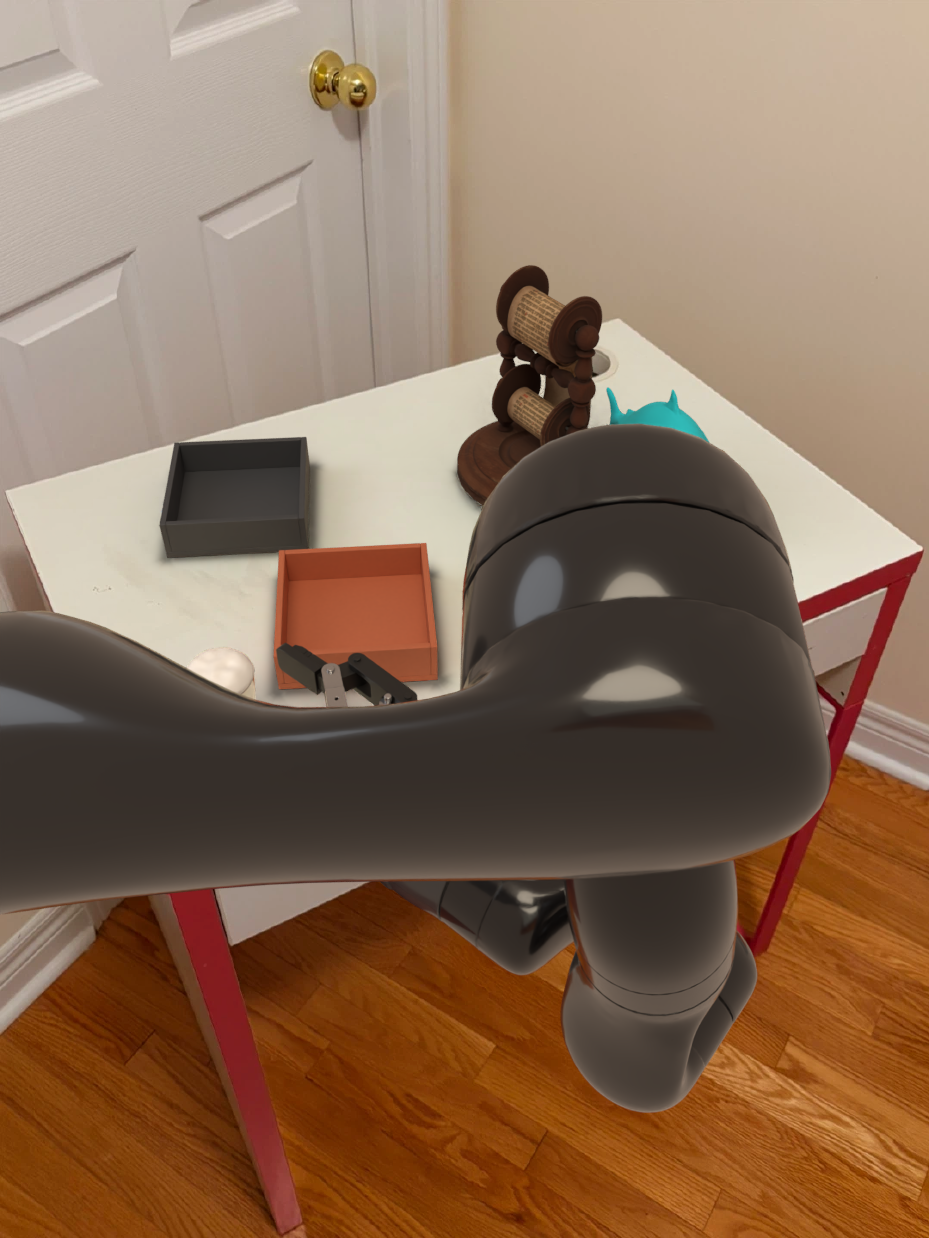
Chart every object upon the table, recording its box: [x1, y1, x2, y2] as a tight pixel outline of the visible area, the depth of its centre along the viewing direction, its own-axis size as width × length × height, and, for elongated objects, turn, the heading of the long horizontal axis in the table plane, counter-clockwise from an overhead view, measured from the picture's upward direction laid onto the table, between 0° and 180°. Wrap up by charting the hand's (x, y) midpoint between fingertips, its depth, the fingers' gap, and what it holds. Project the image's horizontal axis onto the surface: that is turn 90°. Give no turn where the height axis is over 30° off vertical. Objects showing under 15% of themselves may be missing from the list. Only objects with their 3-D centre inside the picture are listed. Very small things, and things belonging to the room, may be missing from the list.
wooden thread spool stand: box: [456, 264, 603, 507], centre depth 91 cm, size 15×15×20 cm
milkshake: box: [185, 646, 256, 699], centre depth 71 cm, size 4×5×10 cm
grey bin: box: [158, 436, 311, 559], centre depth 93 cm, size 12×12×4 cm
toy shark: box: [605, 386, 711, 443], centre depth 93 cm, size 10×18×11 cm, turn 30°
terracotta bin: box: [273, 542, 439, 690], centre depth 82 cm, size 12×12×4 cm
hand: (232, 690), depth 68 cm, fingers open, 8 cm apart
